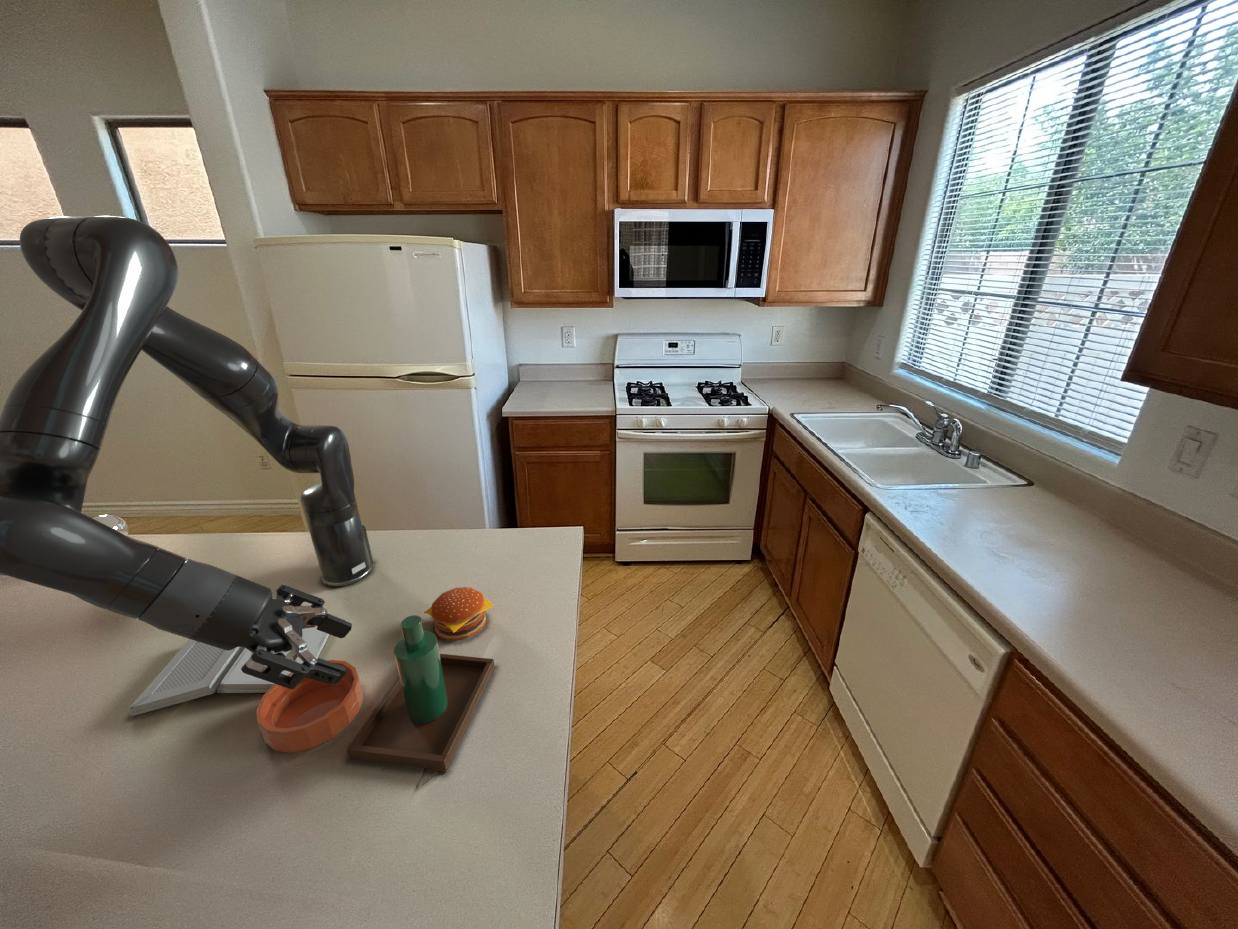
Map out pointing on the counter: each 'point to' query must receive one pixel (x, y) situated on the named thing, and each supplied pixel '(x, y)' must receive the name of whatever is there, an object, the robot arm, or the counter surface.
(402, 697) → the tray
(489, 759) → the counter surface
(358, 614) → the counter surface
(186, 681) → the gadget
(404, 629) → the bottle
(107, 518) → the light bulb
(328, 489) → the robot arm
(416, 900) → the counter surface
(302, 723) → the bowl
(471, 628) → the hamburger
